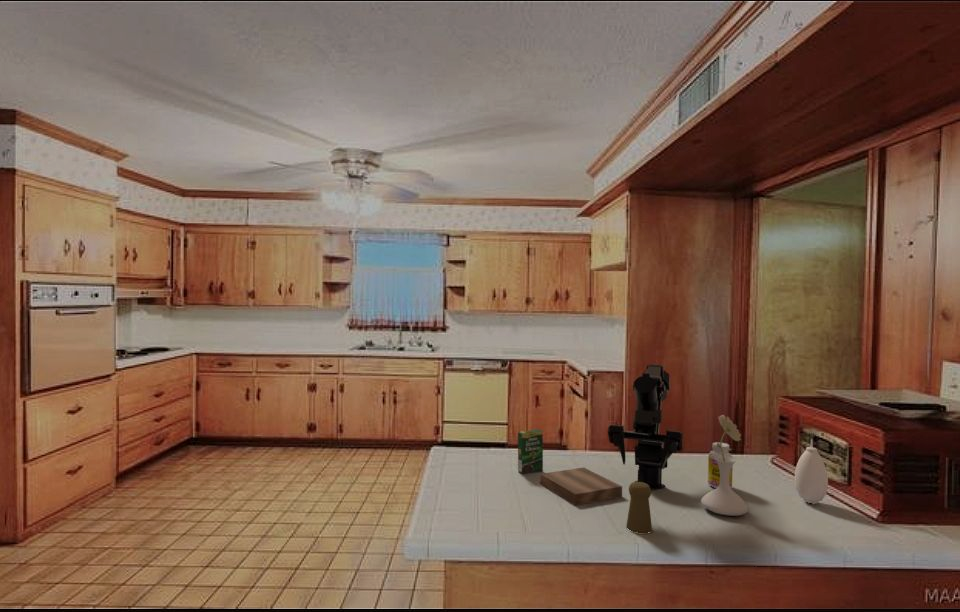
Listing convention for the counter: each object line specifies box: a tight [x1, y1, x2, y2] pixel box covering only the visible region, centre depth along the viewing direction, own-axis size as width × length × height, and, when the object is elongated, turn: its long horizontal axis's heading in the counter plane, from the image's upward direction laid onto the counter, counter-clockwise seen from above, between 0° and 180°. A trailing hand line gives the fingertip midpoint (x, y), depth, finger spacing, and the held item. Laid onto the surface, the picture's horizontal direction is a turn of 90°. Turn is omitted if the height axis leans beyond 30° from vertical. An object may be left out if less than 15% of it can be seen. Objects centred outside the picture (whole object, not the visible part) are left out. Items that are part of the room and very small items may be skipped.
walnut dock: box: [539, 467, 623, 506], centre depth 151 cm, size 16×18×3 cm
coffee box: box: [517, 429, 544, 474], centre depth 167 cm, size 8×3×13 cm, turn 113°
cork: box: [625, 481, 653, 534], centre depth 125 cm, size 6×6×11 cm
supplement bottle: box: [707, 441, 734, 489], centre depth 155 cm, size 7×7×13 cm
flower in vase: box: [700, 414, 749, 517], centre depth 137 cm, size 13×11×25 cm
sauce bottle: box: [794, 438, 829, 505], centre depth 143 cm, size 8×8×18 cm
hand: (642, 466), depth 132 cm, fingers open, 9 cm apart
